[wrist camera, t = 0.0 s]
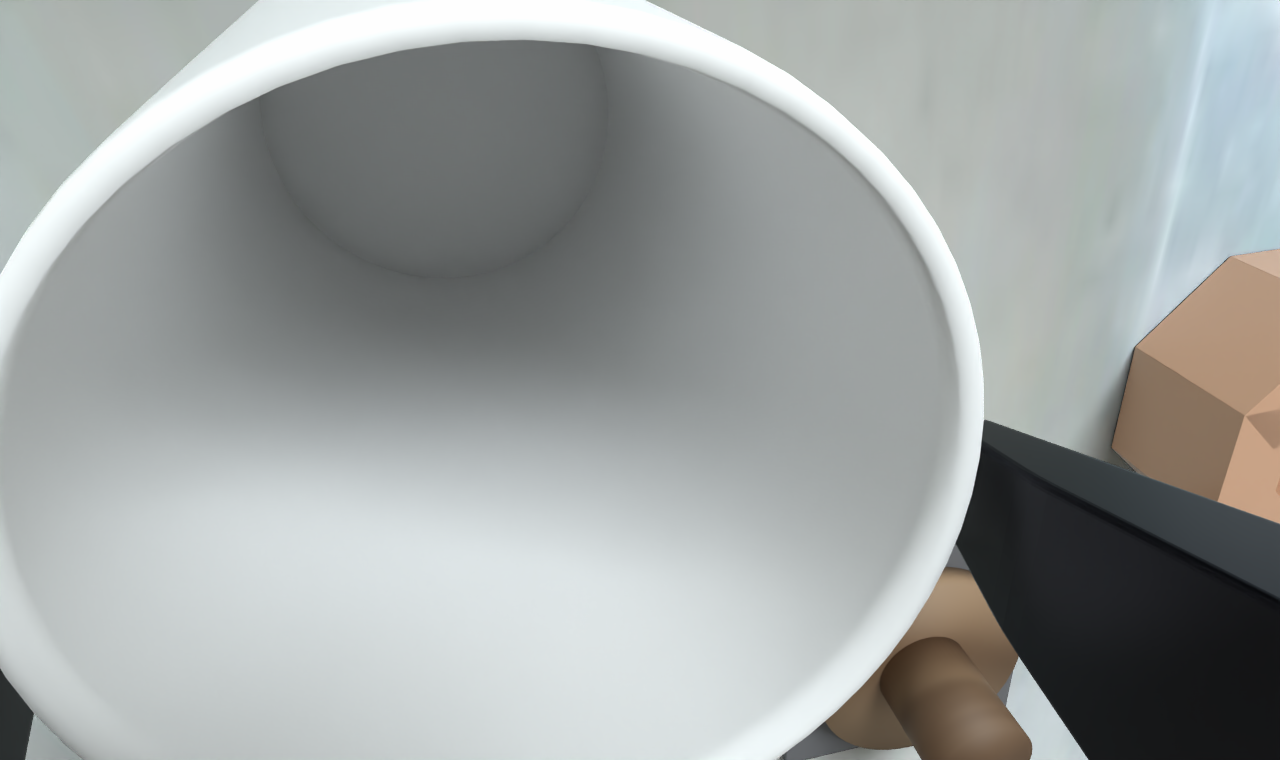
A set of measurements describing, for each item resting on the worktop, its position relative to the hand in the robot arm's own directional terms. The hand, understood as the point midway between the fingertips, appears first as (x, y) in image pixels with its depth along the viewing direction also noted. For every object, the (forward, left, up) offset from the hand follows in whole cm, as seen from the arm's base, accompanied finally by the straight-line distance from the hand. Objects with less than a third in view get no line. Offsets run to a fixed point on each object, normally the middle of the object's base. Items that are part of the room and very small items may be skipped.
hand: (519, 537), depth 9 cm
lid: (-19, -14, -14) cm, 28 cm away
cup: (+1, 0, -15) cm, 15 cm away
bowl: (-10, -25, -15) cm, 31 cm away
